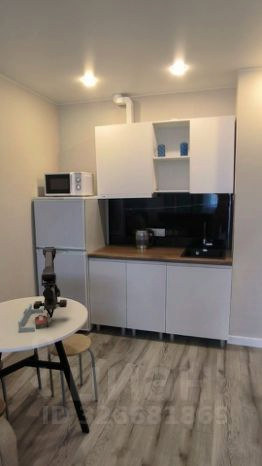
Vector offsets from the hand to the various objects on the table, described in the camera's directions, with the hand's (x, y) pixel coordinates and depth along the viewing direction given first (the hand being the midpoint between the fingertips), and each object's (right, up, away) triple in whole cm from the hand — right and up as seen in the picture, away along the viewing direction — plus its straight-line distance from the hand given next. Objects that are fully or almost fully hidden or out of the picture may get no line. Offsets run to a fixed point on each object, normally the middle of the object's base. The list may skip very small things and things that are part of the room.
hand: (51, 318), depth 187 cm
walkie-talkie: (-5, -2, -1) cm, 5 cm away
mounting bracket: (-11, -2, -1) cm, 11 cm away
